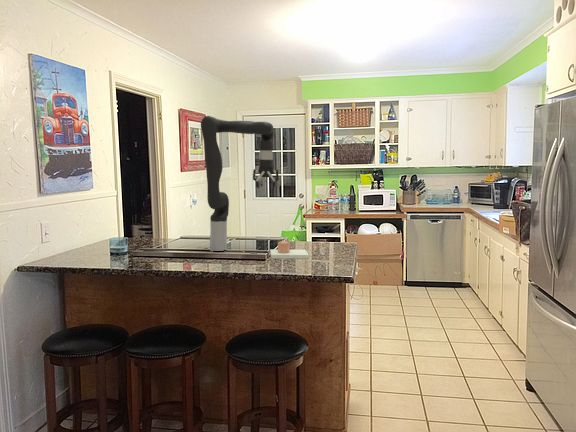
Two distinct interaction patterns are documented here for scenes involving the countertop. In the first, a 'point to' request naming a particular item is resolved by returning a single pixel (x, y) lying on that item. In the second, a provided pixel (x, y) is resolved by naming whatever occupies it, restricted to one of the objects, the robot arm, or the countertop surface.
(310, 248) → the countertop surface
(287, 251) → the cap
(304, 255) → the post board
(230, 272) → the countertop surface
